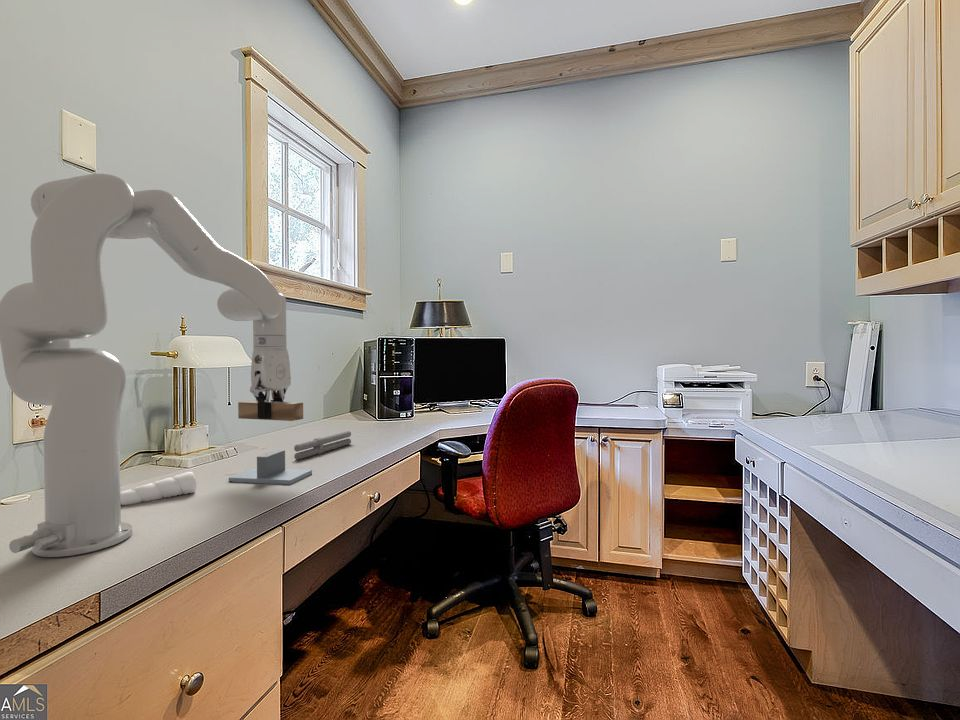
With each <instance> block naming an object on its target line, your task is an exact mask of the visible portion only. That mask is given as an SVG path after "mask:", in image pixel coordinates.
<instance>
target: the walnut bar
mask: <svg viewBox="0 0 960 720" xmlns="http://www.w3.org/2000/svg"><path fill="white" fill-rule="evenodd" d="M269 402H271V418H270V419H260V420H264V421H265V420H266V421H267V420H268V421H286V422H294V421H299V420H303V419H304V402H303V401H301V402H300V401H299V402H297V401H283V402H273V401H271V400H269ZM237 405H238V406H237V408H238V409H237V411H238V412H237V413H238V415H237V416H238V419H243V420H244V419H245V420H246V419H247V420H259V419H258V403H257V402H256V400H246V401H245V400H244V401H238V402H237Z"/></svg>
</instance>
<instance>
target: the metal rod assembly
mask: <svg viewBox="0 0 960 720" xmlns="http://www.w3.org/2000/svg"><path fill="white" fill-rule="evenodd" d="M350 437H352V432H351V431H350V430H347V431H343V432H339V433H335V434H331V435H327V436H324V437H317V438H314V439H312V440H310V441H306V442H302V443H298V444H295V445H294V446H293V447H294V448H293V449H294V451H295V454H294V456H293V457H294V459H295V460H297V461H298V460H302V459H303V460H304V459H307V458H309V457H311V456H315V455H316V454H318V455H321V453H322V454H323V453H325V452H329V451H332V449H333V450H336V449H338V448H342V447H345V445H346V446H348V444H349V445H350V444H352V439H351V438H350Z"/></svg>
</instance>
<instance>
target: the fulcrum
mask: <svg viewBox="0 0 960 720" xmlns="http://www.w3.org/2000/svg"><path fill="white" fill-rule="evenodd" d="M312 474H313V469H299V468H298V469H296V468H295V469H294V468H286V450H285V449H281V450H280V449H275V450H273V451H269V452H267V453H264V454H261V455H258V456H257V457H256V467H253V468H251V469H248V470H246V471H243V472H239V473H237V474H234V475H233V476H229V477H228V482H229V481H234V482H233V483H246V482H247V484H267V485H268V484H272V485H273V484H274V485H292V484H294V483H296V482H299V481H300V480H302V479H304V478H306V477H307V478H308V476H311V475H312Z"/></svg>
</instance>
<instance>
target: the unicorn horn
mask: <svg viewBox="0 0 960 720" xmlns="http://www.w3.org/2000/svg"><path fill="white" fill-rule="evenodd" d="M196 491H197V480H196V477H195V473H194V472H192V471H186V472H183V473H180V474H177V475H176V474H175V475H173V476H170V477H167V478H163V479H161V480H156V481H153V482H151V483H146V484H143V485H140V486H136V487H133V488H131V489H126V490H123V491H120V499H121V506H129V505H134V504H140V502H141V503H142V502H144V503H146V502H151V500H152V501H156V499H157V500H161V498H162V499H163V497H164V499H167V498H166V497H168V498H172V497H171V496H173V497H177V495H179V496H182V495H184V494H185V495H189V494H188V493H190V494H194V493H195V492H196ZM193 492H194V493H193ZM145 501H146V502H145Z"/></svg>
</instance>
